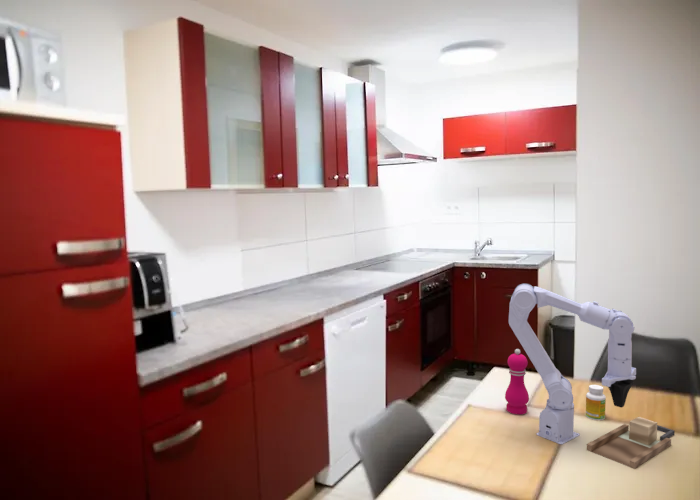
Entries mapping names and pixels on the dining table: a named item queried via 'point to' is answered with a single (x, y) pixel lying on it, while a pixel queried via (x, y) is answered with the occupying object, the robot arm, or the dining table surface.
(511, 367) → the pepper mill
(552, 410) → the robot arm
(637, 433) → the maple block
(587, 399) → the supplement bottle
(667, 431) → the tray
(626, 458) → the walled channel
